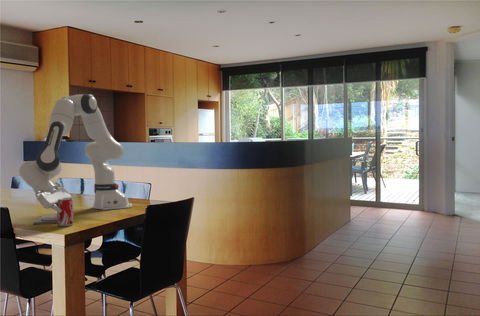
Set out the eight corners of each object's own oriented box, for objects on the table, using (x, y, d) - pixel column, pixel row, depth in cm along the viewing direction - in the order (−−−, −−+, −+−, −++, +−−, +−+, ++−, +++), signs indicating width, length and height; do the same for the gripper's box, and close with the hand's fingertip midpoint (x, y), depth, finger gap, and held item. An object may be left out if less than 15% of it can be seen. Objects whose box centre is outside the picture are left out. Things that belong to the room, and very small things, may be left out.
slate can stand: (71, 216, 222) (71, 212, 221) (66, 222, 207) (66, 218, 207) (40, 218, 218) (40, 214, 218) (33, 224, 203) (33, 220, 203)
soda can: (54, 226, 199) (53, 199, 198) (65, 223, 206) (64, 197, 205) (65, 227, 197) (65, 200, 196) (76, 224, 203) (76, 197, 203)
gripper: (38, 188, 190) (59, 209, 190) (61, 182, 211) (80, 202, 210) (29, 197, 191) (50, 219, 191) (53, 191, 212) (72, 210, 211)
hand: (66, 210), depth 201 cm, fingers open, 8 cm apart
